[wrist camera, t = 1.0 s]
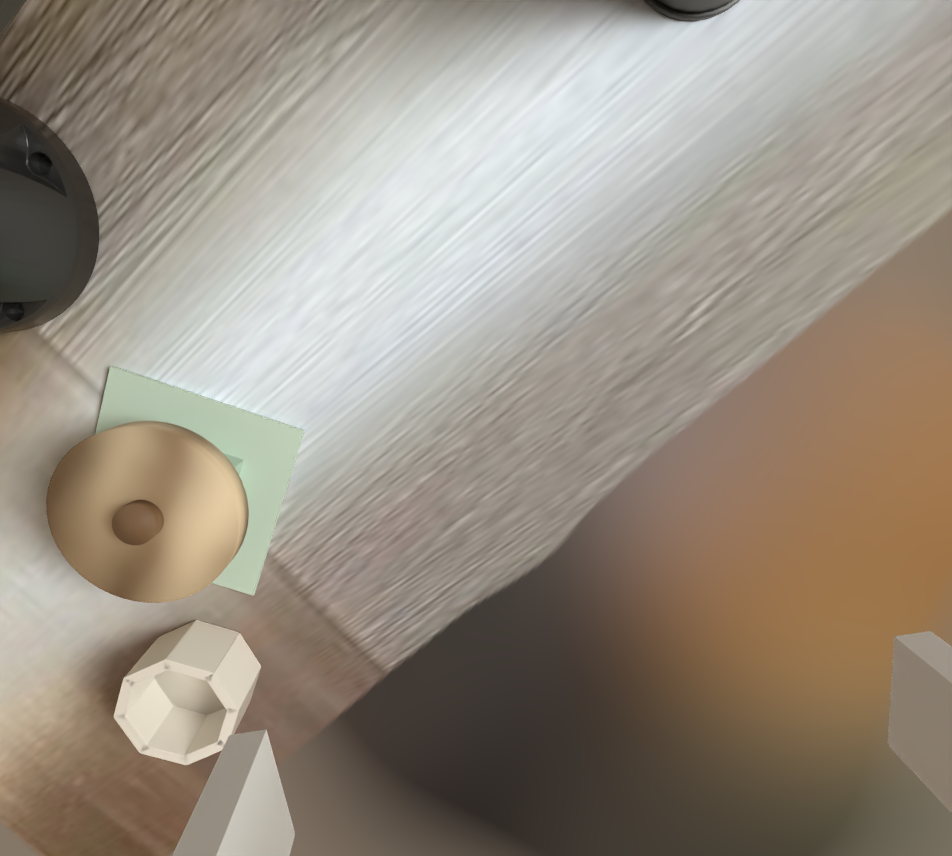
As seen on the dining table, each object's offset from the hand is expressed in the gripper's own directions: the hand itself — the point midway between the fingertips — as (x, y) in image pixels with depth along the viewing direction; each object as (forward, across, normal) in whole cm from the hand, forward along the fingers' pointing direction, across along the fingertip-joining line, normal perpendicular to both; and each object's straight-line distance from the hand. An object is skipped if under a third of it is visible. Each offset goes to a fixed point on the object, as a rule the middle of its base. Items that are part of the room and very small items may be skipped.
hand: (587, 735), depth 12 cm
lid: (+28, -23, -3) cm, 36 cm away
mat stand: (+32, -23, -3) cm, 40 cm away
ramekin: (+32, -26, -18) cm, 45 cm away
